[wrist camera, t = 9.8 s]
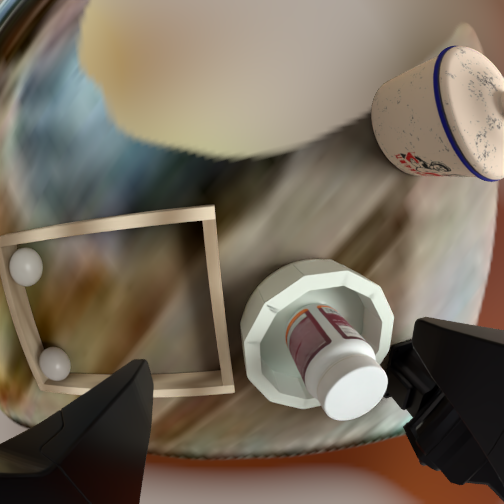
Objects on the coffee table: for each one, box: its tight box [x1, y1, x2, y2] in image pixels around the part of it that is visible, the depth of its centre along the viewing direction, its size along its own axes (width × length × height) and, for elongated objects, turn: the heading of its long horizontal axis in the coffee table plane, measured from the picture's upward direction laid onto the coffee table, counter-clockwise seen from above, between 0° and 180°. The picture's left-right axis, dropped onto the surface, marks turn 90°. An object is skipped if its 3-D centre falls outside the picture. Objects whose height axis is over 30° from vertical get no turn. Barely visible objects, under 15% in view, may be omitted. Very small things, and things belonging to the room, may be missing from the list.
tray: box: [0, 204, 235, 397], centre depth 20 cm, size 18×14×2 cm
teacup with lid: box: [371, 46, 504, 182], centre depth 15 cm, size 12×9×12 cm
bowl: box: [240, 259, 394, 409], centre depth 21 cm, size 11×11×4 cm
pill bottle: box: [285, 304, 388, 421], centre depth 18 cm, size 5×5×8 cm
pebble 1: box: [9, 247, 43, 286], centre depth 18 cm, size 3×3×3 cm
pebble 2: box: [39, 347, 71, 381], centre depth 19 cm, size 3×3×3 cm
